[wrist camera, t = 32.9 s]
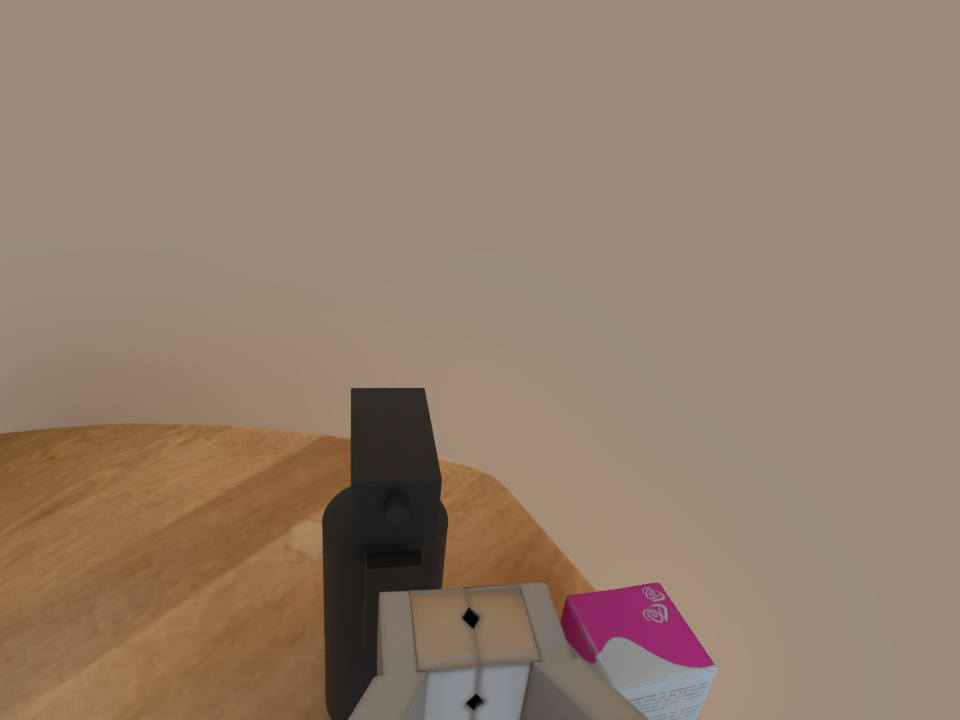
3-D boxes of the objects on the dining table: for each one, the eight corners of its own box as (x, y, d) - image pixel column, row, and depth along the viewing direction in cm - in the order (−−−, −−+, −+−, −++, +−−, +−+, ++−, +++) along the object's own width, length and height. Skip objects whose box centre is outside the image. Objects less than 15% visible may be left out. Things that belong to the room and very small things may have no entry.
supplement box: (666, 808, 36) (723, 670, 31) (567, 835, 34) (608, 695, 29) (618, 710, 41) (660, 577, 36) (529, 730, 39) (559, 593, 34)
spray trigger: (418, 643, 30) (424, 566, 28) (364, 647, 29) (365, 569, 27) (416, 625, 31) (421, 548, 28) (363, 629, 30) (365, 551, 28)
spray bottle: (442, 786, 36) (478, 490, 26) (322, 801, 35) (314, 496, 25) (425, 643, 44) (449, 375, 34) (327, 651, 43) (322, 375, 33)
